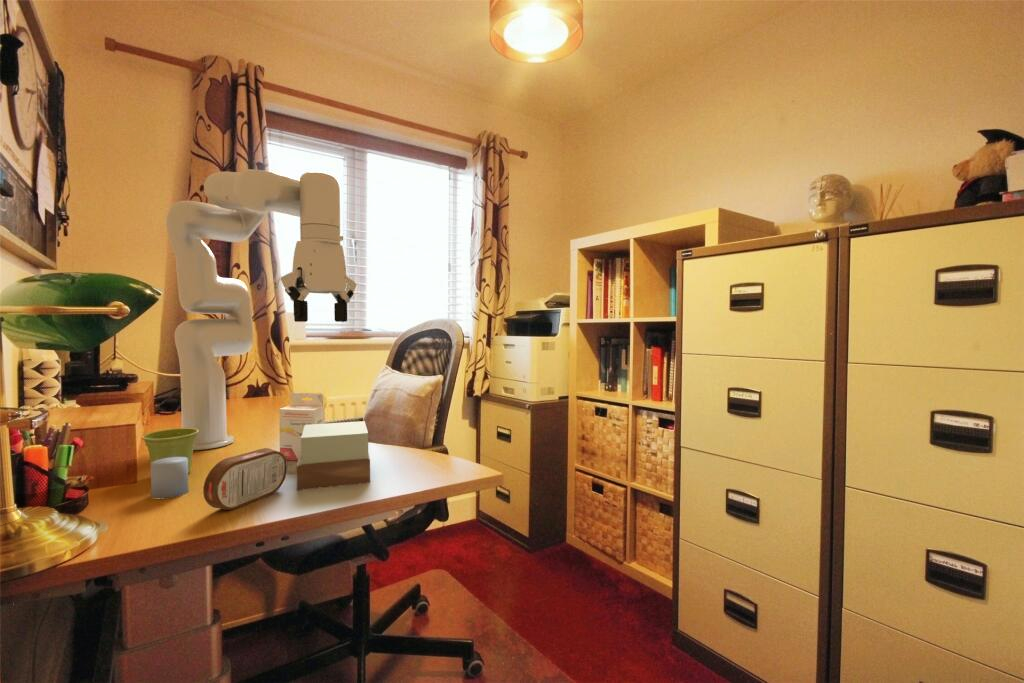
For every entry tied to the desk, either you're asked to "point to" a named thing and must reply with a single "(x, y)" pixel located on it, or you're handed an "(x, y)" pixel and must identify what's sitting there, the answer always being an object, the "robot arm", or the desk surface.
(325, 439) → the sage top block
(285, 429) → the ink cartridge box
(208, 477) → the tin
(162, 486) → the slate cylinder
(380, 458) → the desk surface
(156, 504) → the desk surface
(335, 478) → the walnut base block
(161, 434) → the plant pot
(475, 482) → the desk surface
